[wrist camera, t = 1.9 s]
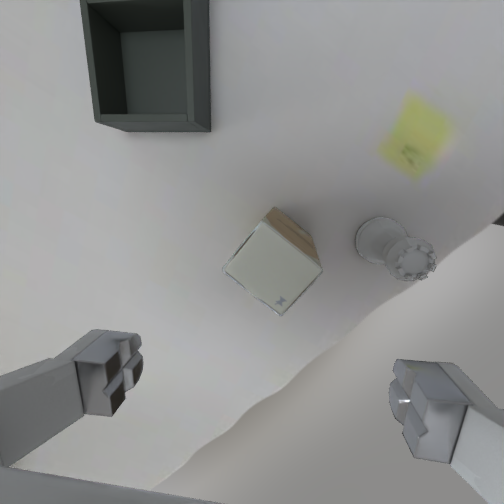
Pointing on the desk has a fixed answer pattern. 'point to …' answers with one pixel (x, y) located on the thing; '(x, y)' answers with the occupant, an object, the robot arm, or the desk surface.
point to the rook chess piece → (395, 249)
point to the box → (275, 262)
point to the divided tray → (149, 64)
